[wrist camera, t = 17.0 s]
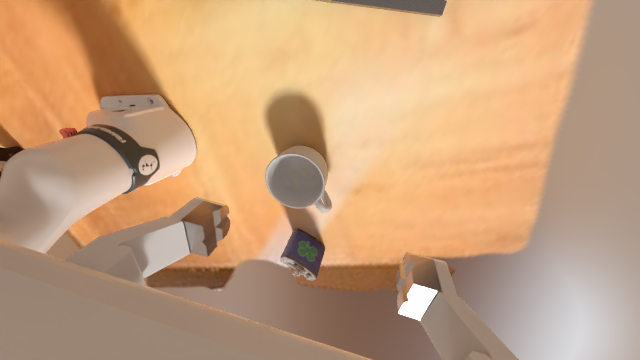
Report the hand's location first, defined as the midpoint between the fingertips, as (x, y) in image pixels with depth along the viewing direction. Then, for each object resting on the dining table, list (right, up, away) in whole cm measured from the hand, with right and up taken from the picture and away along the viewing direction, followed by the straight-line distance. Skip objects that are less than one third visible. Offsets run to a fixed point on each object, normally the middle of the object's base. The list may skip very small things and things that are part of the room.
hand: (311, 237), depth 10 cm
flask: (-2, -12, +46) cm, 48 cm away
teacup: (-1, +5, +37) cm, 37 cm away
